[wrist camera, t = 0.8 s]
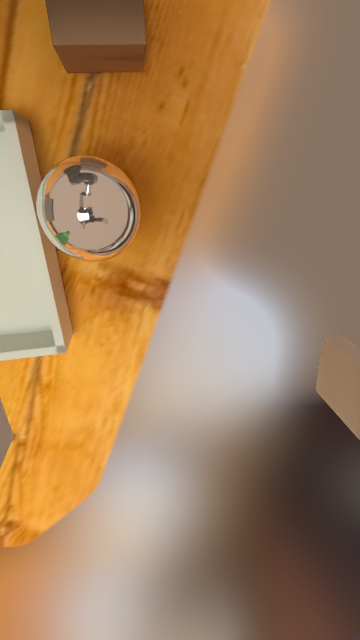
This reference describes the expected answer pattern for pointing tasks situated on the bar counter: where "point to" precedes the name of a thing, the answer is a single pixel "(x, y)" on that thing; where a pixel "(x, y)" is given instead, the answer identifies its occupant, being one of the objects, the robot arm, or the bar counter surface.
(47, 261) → the tray
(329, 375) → the robot arm
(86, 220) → the light bulb
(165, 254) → the bar counter surface
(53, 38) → the walnut block
